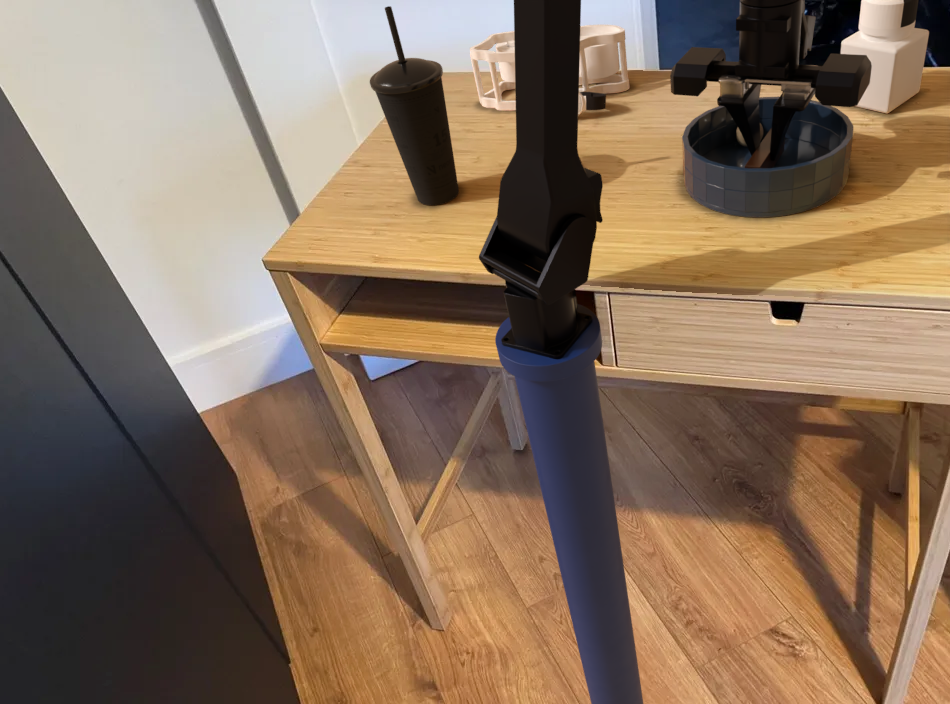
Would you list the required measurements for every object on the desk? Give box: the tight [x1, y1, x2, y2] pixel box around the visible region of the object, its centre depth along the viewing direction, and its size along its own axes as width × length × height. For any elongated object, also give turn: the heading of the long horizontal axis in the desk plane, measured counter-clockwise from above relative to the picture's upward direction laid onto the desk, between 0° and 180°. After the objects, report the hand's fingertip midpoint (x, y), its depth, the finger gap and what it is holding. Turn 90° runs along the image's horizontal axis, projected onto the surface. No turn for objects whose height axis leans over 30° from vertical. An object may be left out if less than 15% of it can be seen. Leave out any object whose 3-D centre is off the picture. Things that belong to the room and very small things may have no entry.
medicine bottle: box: [839, 0, 930, 115], centre depth 94 cm, size 7×7×12 cm
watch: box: [578, 92, 607, 116], centre depth 104 cm, size 8×5×4 cm, turn 67°
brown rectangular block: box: [745, 128, 785, 168], centre depth 87 cm, size 2×9×2 cm, turn 154°
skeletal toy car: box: [469, 24, 630, 111], centre depth 109 cm, size 20×11×7 cm, turn 78°
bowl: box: [681, 96, 854, 218], centre depth 86 cm, size 17×17×5 cm
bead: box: [736, 123, 763, 147], centre depth 91 cm, size 3×3×3 cm
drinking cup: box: [369, 5, 460, 206], centre depth 87 cm, size 8×8×20 cm
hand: (765, 158), depth 87 cm, fingers closed on brown rectangular block, 2 cm apart
